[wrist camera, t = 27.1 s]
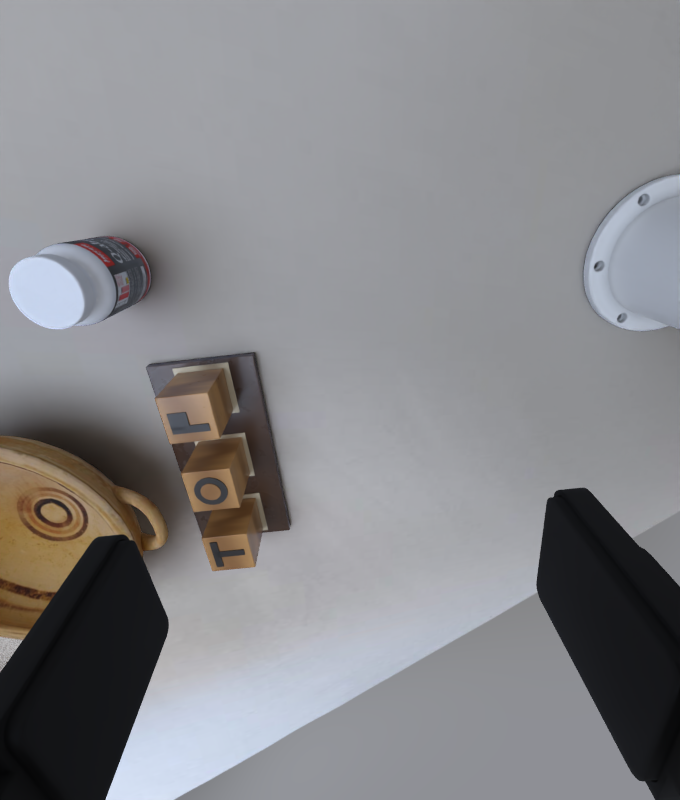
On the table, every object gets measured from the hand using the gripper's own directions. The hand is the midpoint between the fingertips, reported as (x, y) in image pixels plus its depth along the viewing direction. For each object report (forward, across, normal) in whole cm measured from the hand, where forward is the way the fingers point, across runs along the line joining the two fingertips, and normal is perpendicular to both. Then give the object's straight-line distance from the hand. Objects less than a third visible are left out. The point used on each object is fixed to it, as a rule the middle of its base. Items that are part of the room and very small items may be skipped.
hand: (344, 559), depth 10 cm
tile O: (+29, +13, +15) cm, 35 cm away
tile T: (+29, +13, +23) cm, 39 cm away
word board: (+30, +13, +15) cm, 36 cm away
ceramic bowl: (+31, +33, +19) cm, 49 cm away
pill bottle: (+31, +18, -4) cm, 36 cm away
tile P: (+29, +13, +8) cm, 33 cm away
